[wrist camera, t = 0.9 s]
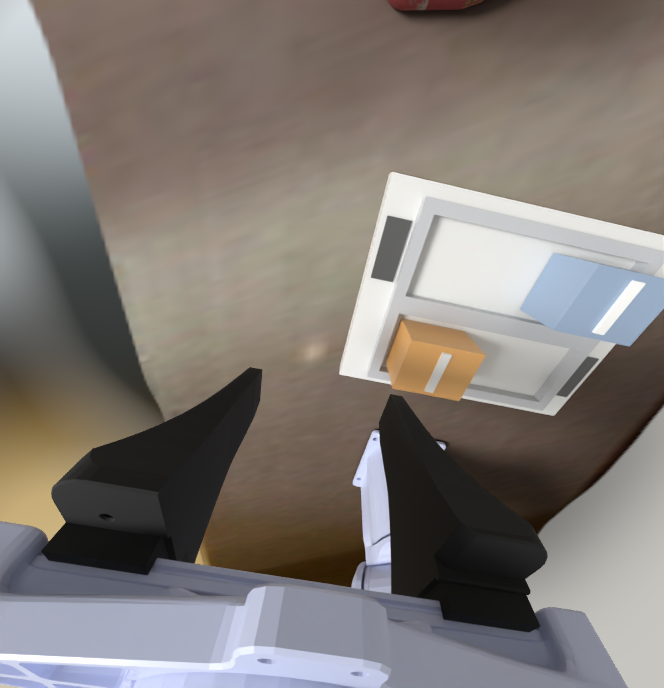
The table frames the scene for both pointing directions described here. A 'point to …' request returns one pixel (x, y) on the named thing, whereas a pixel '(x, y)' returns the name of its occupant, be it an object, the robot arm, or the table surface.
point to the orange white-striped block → (432, 360)
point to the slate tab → (594, 299)
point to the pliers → (432, 4)
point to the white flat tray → (483, 286)
